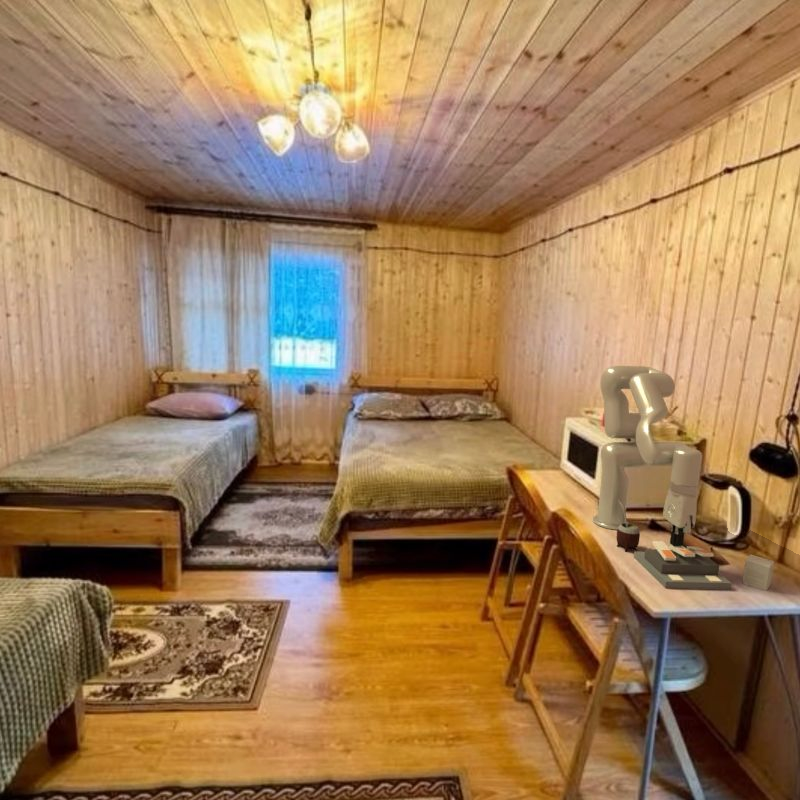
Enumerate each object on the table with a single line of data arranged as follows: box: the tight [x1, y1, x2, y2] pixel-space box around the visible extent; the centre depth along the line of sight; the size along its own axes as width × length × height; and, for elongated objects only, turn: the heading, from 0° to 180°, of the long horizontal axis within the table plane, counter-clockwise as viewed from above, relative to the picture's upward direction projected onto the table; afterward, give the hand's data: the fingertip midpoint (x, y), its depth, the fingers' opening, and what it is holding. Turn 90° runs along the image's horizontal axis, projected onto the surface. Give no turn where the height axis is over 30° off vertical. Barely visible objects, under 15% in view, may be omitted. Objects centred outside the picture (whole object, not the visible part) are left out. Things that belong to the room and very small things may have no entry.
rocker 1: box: [652, 540, 676, 561], centre depth 151 cm, size 8×3×2 cm, turn 1°
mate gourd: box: [616, 500, 641, 553], centre depth 167 cm, size 8×8×15 cm
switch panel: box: [633, 548, 732, 590], centre depth 152 cm, size 19×19×5 cm
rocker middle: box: [668, 544, 695, 557], centre depth 151 cm, size 8×3×2 cm, turn 0°
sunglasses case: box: [683, 533, 731, 566], centre depth 167 cm, size 18×7×7 cm
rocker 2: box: [686, 547, 713, 557], centre depth 151 cm, size 8×3×2 cm, turn 0°
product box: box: [742, 554, 775, 592], centre depth 147 cm, size 6×6×7 cm
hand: (676, 544), depth 154 cm, fingers closed
